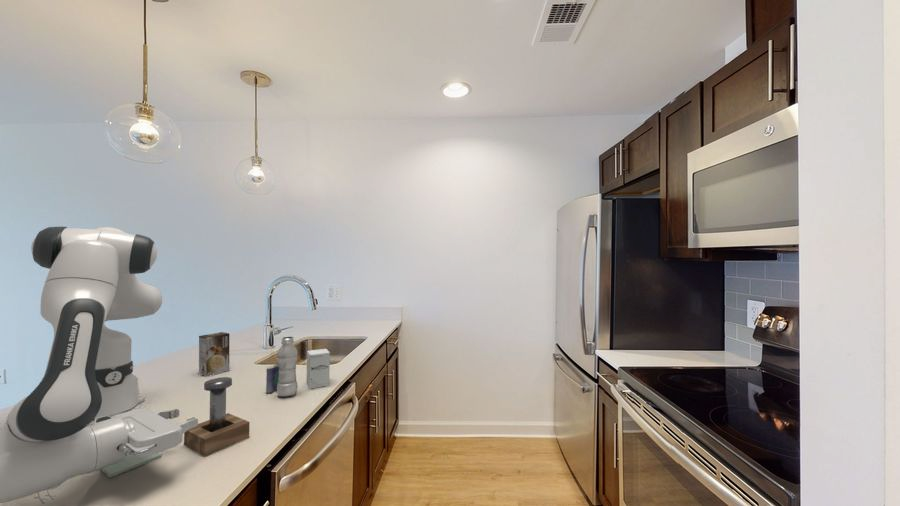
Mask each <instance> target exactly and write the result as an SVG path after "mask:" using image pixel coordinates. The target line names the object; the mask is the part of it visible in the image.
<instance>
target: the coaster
mask: <svg viewBox="0 0 900 506" xmlns="http://www.w3.org/2000/svg"><path fill="white" fill-rule="evenodd" d="M160 458H162V453H161V452H158V453H155V454H152V455H149V456H144V457H136V456H134V455H130V456H126V457H125V459H124V460H123V461H121V462H118V463H115V464H113V465H110V466H107V467H105V468H102V469H100V471H102V473H104V474H105V473H106V474H105V475H107V476H108V477H109V478H112V476H113V477H115V476H118V475H120V474H122V473H125V472H127V471H130V470H133V469H135V468H138V467H140V466H143V465H145V464H147V463H151V462H152V461H155V460H158V459H160Z"/></svg>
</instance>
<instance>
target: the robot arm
mask: <svg viewBox="0 0 900 506" xmlns="http://www.w3.org/2000/svg"><path fill="white" fill-rule="evenodd" d="M30 250H31V255H32V259H33V261H34V262H35V263H36V264H37V265H38V266H40V267H41V268H45V269H49V271H48V274H47V276H46V279H45V281H44V285H43V287H42V291H41V297H40V315H41V317H42V318H43V319H44V320H45V321H46V322H47V323H49V324H51V326H52V328H53V339H52V340H53V341H52V344H51V347H50V352H49V356H48V361H47V364H46V368H45V371H44V375H43V377H42V378H41V381H40V382H39V384H38V385H37V386H36V387H35V389H33V391H31V392H30V394H28V395H27V396H26V397H24V398H23V399H21V400H20V401H19V402H17V403H16V404H15V405H14V406H13V408H12V409H10V411H9V413H8V415H7V417H6V420H5V423H4V425H3V427H2V430H1V431H0V504H1V503H7V502H11V501H16V500H19V499H22V498H25V497H28V496H32V495H35V494H37V493H41V492H43V491H46V490H49V489H51V488H54V487H56V486H58V485H59V486H60V485H61V484H64V483H65V482H66V481H68V480H70V479H72V478H74V477H77V476H83V475H87V474H88V475H89V474H91V473H94V472H96V471H99V470H101V469H102V468H105V467H107V466H110V465H113V464H115V463H118V462H121V461H123V460H124V459H125V457H126V456H130V455H134V456H136V457H144V456H149V455H152V454H155V453H158V452H159V453H161V452H165V451H167V450H170V449H173V448H175V447H177V446H179V445H180V444H181V443H182V442H183V434H184V433H185V432H186V431H188V430H189V429H190V428H193V427H196V426H197V425H198V424H199V419H198V418H196V417H194V416H193V417H191V418H188V419H187V418H186V421H184V422H182V423H175V422H173V421H171V420H173V419H176V418H178V417H179V416H180V410H179V409H178V408H172V409H169V410H161V411H160V410H159V411H156V412H154V411H151V410H150V409H149V408H139V409H138V408H137V409H134V407H136V406H137V405H138V404H140V403H142V402H144V401H145V400H146V399H145V396H143V395H142V396H141V395H140V388H139V387H140V386H139V385H140V384H139V377H138V376H137V375H134V374H133V372H134V362H133V360H132V344H133V343H132V338H131V336H130V335H128V334H127V333H125V332H122V331H118V330H115V329H111V328H109V327H107V326H106V324H105V323H106V322H108V321H119V320H120V321H121V320H132V319H138V318H144V317H149V316H152V315H155V313H157V312H158V311H159V310H160V308H161V306H162V303H163V295H162V292H160V290H159V289H158V288H157V287H155V286H154V285H150V284H147V283H145V282H143V281H141V280H140V279H138V277H137V276H136V274H137V275H138V274H144V273H146V272H148V271H149V270H151V268H152V266H153V265H154V264H155V262H156V260H157V258H158V256H157V255H158V251H157V250H158V249H157V247H156V244H155V241H154V240H153V239H152V238H150V237H148V236H145V235H142V234H137V233H136V234H132V233H127V232H125V231H123V230H121V229H119V228H116V227H111V226H102V227H96V228H81V227H80V228H79V227H73V228H72V227H69V228H68V227H67V226H48V227H45V228H44V229H42V230H40V231H39V232H38V233H37V234H36V237H35V238H34V239H33V241H32V243H31V249H30ZM131 409H133V410H131ZM93 420H94V421H93ZM92 421H93V424H92V425H89V424H91V423H92Z"/></svg>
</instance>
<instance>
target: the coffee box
mask: <svg viewBox="0 0 900 506" xmlns="http://www.w3.org/2000/svg"><path fill="white" fill-rule="evenodd" d="M225 371H226V372H229V371H230V333H229V332H223V331H221V332H215V333H209V334H202V335H198V375H199V374H201V375H200V376H202V375H204V376H203V377H205V376H208V377H210V375H211V376H214V375H213V374H215V375H218V373H219V374H222V373H226V372H225ZM221 372H222V373H221Z"/></svg>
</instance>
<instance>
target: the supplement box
mask: <svg viewBox="0 0 900 506" xmlns="http://www.w3.org/2000/svg"><path fill="white" fill-rule="evenodd" d="M330 357H331V352H330V351H329V350H328V349H327V348H319V349H312V350H306V378H305V379H306V385H308V386H307V388H308V389H309V390H312V389H317V387H318V388H322V386H324V387H330V365H331V364H330V362H331V361H330V359H331V358H330Z"/></svg>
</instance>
